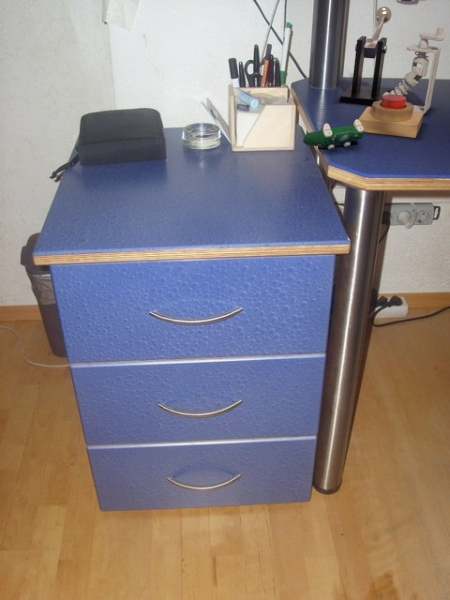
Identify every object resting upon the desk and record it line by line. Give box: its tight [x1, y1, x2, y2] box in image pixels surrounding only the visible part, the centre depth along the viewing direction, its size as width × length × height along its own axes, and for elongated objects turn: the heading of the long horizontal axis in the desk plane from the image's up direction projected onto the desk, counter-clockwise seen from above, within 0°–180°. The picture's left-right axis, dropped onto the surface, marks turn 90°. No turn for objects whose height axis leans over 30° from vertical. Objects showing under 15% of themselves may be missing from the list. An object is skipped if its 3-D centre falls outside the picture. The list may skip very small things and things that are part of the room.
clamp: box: [383, 26, 445, 115], centre depth 111 cm, size 4×10×15 cm, turn 62°
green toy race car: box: [302, 118, 365, 150], centre depth 96 cm, size 9×4×6 cm
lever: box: [364, 6, 392, 60], centre depth 119 cm, size 14×3×3 cm, turn 157°
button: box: [381, 94, 407, 109], centre depth 103 cm, size 4×4×2 cm
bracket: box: [339, 35, 390, 106], centre depth 119 cm, size 10×8×11 cm
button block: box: [358, 100, 425, 139], centre depth 104 cm, size 10×8×4 cm
